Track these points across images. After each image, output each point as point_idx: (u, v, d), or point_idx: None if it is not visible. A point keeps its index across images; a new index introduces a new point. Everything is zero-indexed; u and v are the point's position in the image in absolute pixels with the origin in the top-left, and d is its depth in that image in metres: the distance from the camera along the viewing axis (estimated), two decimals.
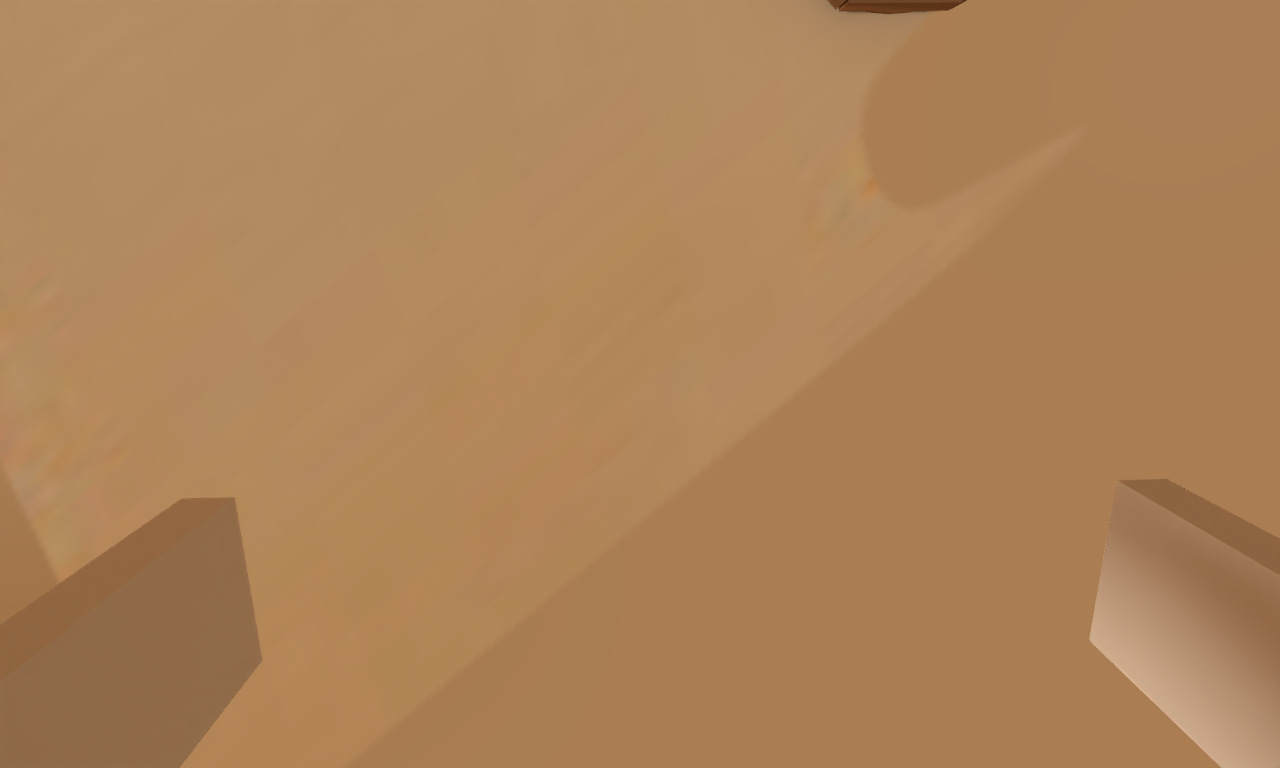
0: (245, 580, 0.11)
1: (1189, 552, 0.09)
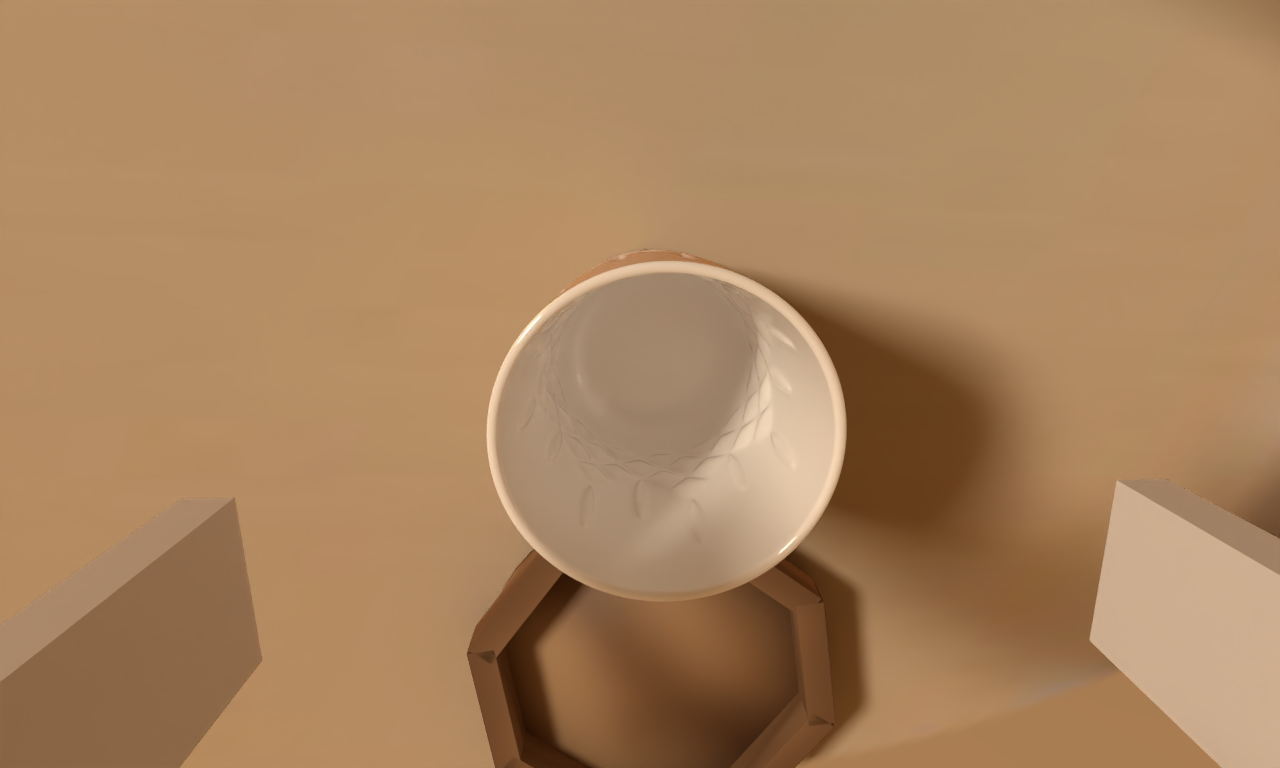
0: (244, 579, 0.11)
1: (1188, 552, 0.09)
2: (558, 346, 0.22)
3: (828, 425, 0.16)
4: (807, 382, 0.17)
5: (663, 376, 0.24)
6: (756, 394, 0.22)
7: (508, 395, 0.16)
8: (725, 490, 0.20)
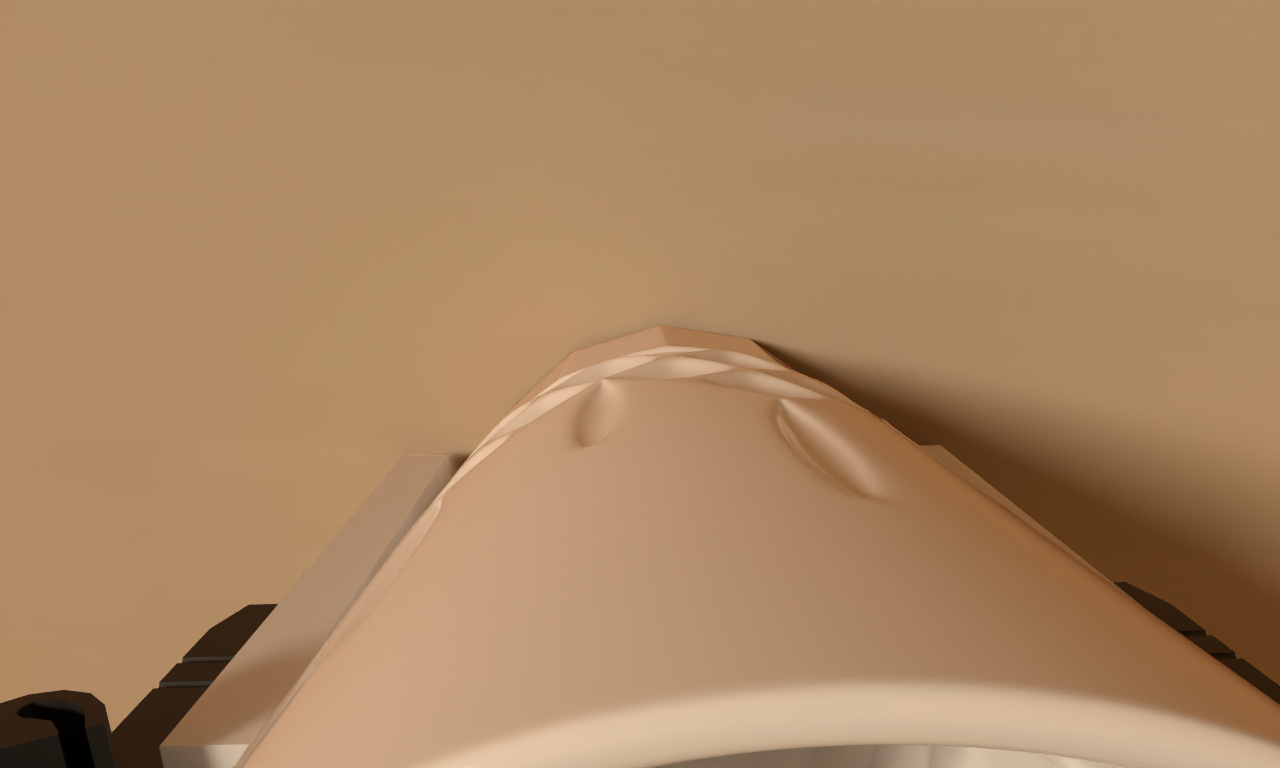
0: None
1: None
2: None
3: None
4: None
5: None
6: None
7: None
8: None
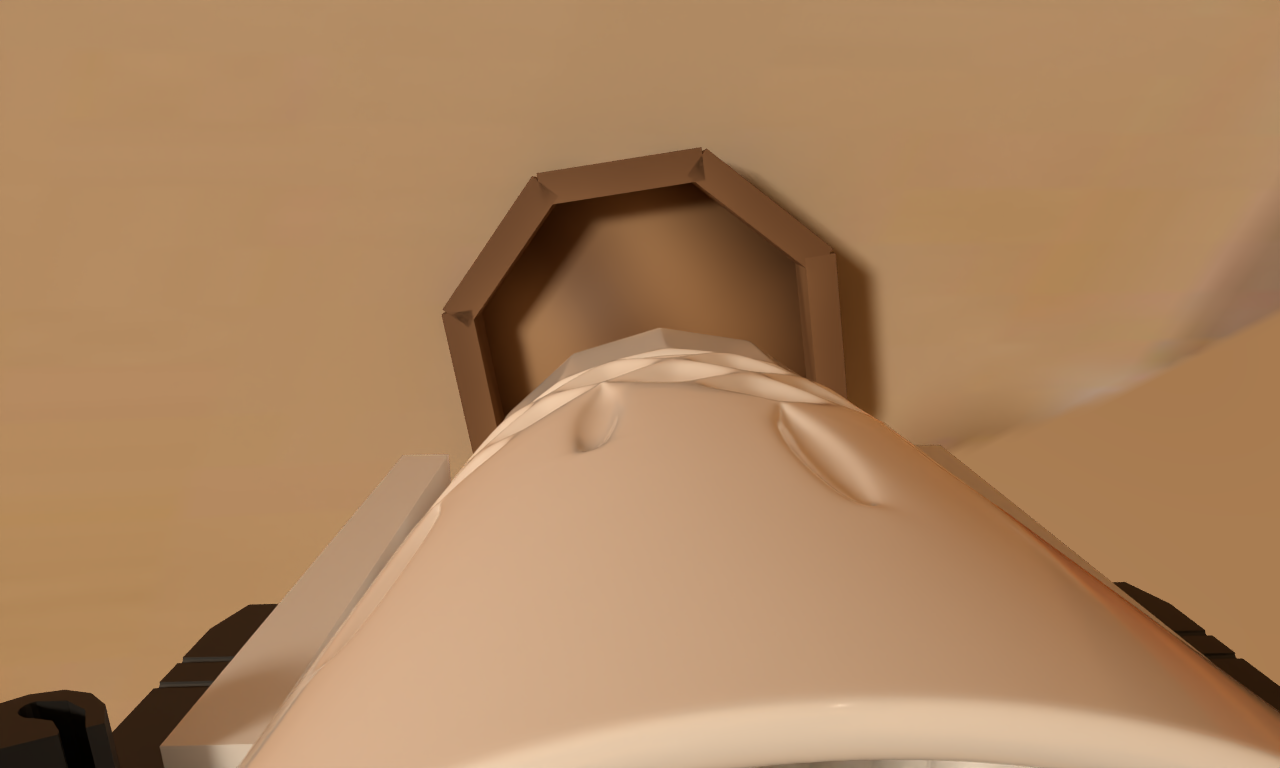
0: None
1: None
2: None
3: None
4: None
5: None
6: None
7: None
8: None
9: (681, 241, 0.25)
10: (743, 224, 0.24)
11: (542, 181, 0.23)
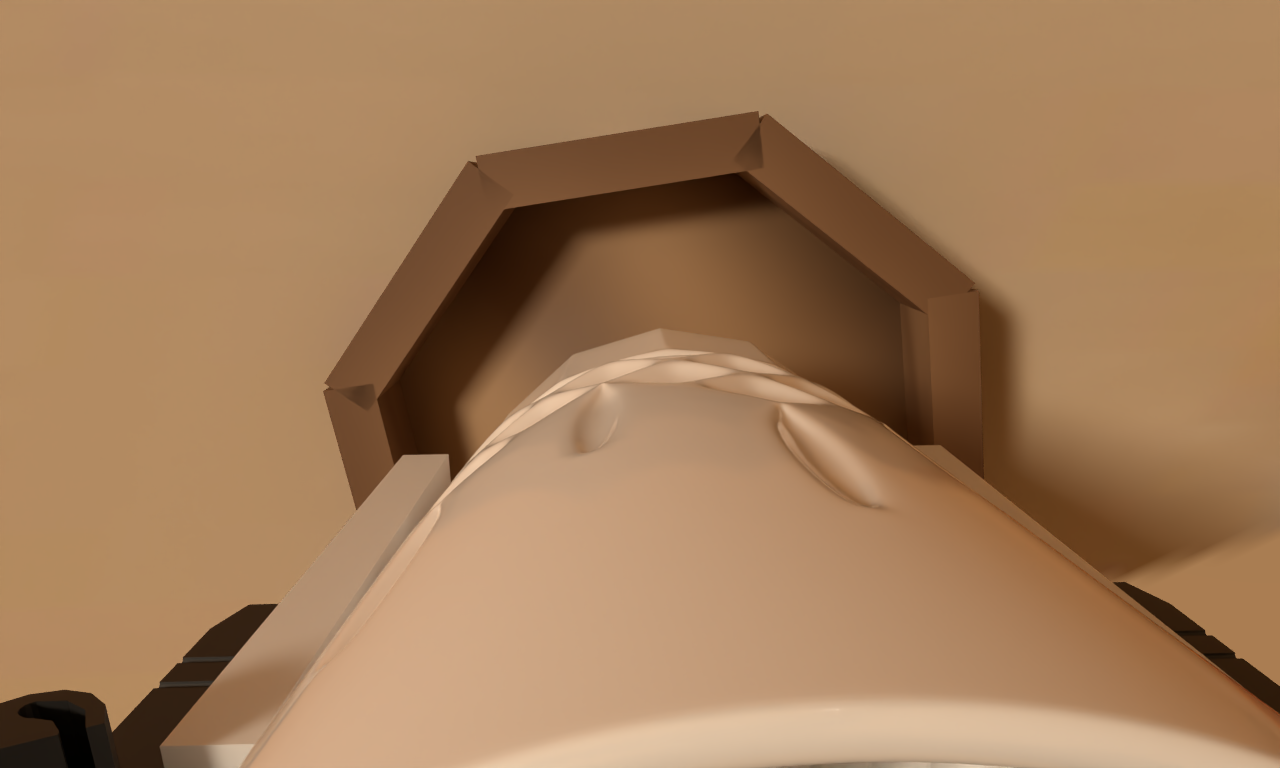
0: None
1: None
2: None
3: None
4: None
5: None
6: None
7: None
8: None
9: (717, 267, 0.15)
10: (818, 240, 0.15)
11: (486, 170, 0.13)
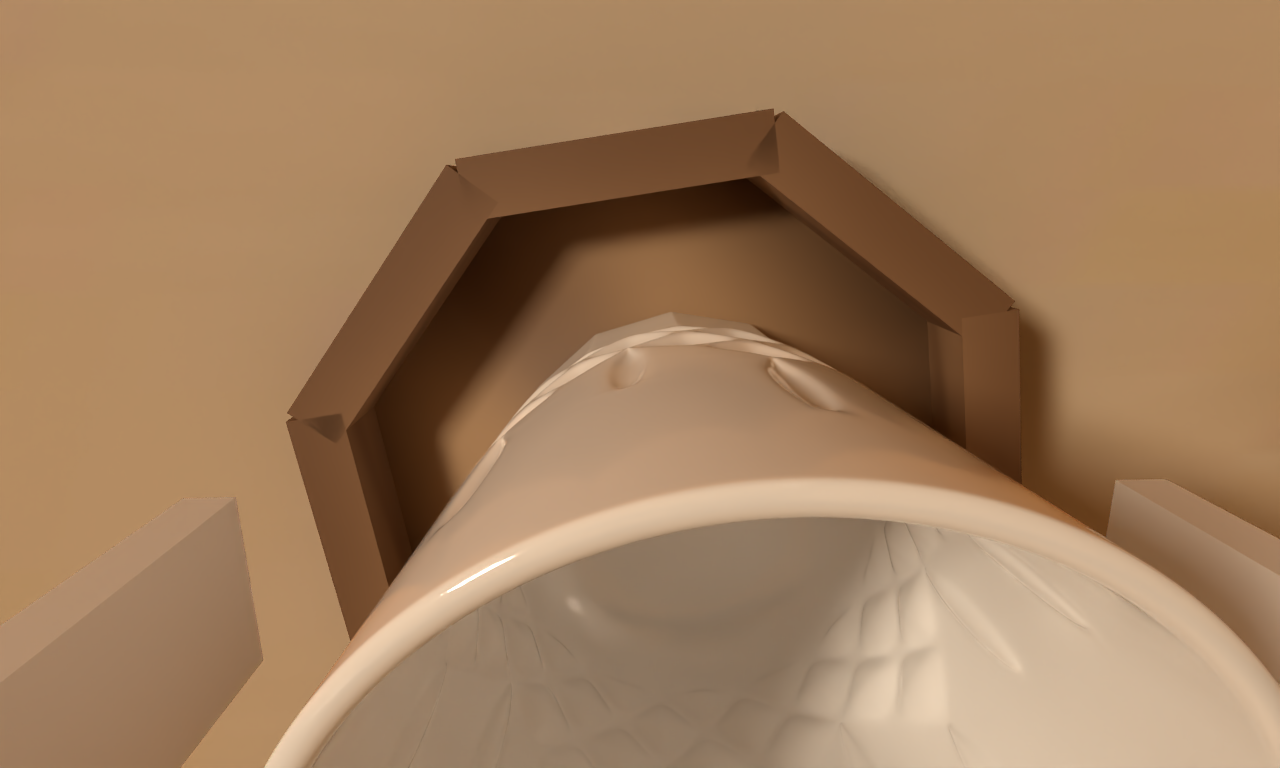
0: (246, 579, 0.11)
1: (1188, 552, 0.09)
2: None
3: None
4: (1121, 717, 0.07)
5: (704, 542, 0.13)
6: (890, 602, 0.11)
7: None
8: None
9: (726, 283, 0.14)
10: (838, 253, 0.14)
11: (466, 174, 0.12)
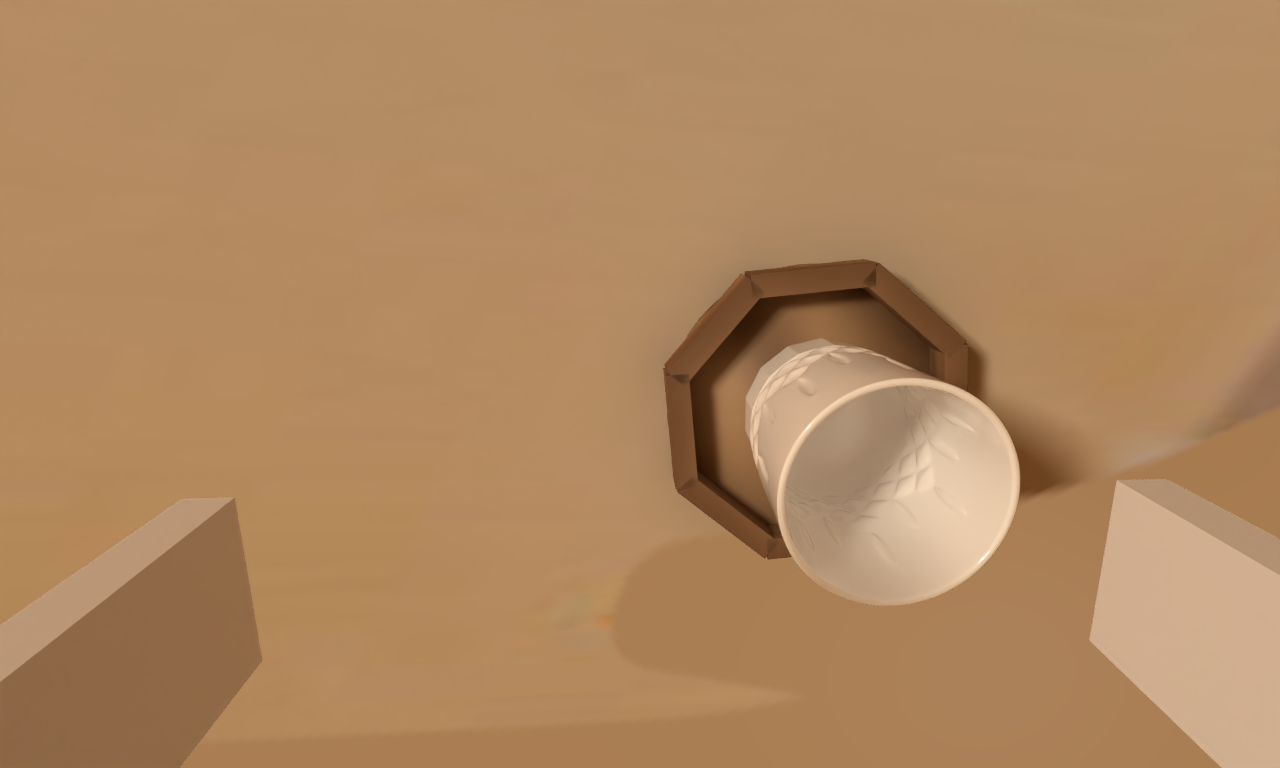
0: (245, 579, 0.11)
1: (1189, 552, 0.09)
2: None
3: (1003, 489, 0.24)
4: (982, 457, 0.25)
5: (833, 436, 0.31)
6: (912, 455, 0.30)
7: None
8: (898, 528, 0.28)
9: (845, 326, 0.32)
10: (893, 316, 0.32)
11: (754, 281, 0.30)
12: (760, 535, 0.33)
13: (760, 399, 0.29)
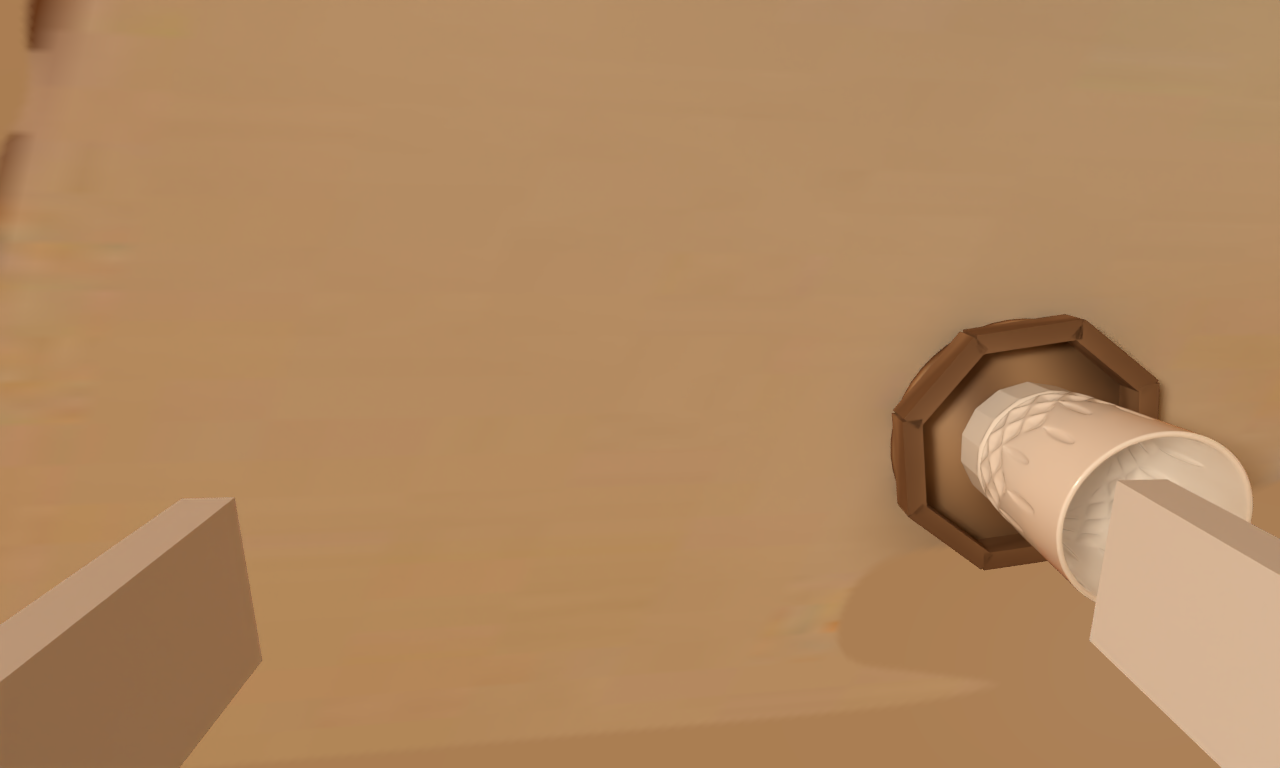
0: (245, 580, 0.11)
1: (1189, 552, 0.09)
2: None
3: (1235, 513, 0.29)
4: (1209, 486, 0.30)
5: None
6: None
7: None
8: None
9: (1047, 370, 0.37)
10: (1089, 360, 0.37)
11: (980, 340, 0.35)
12: (978, 550, 0.38)
13: (992, 440, 0.35)
